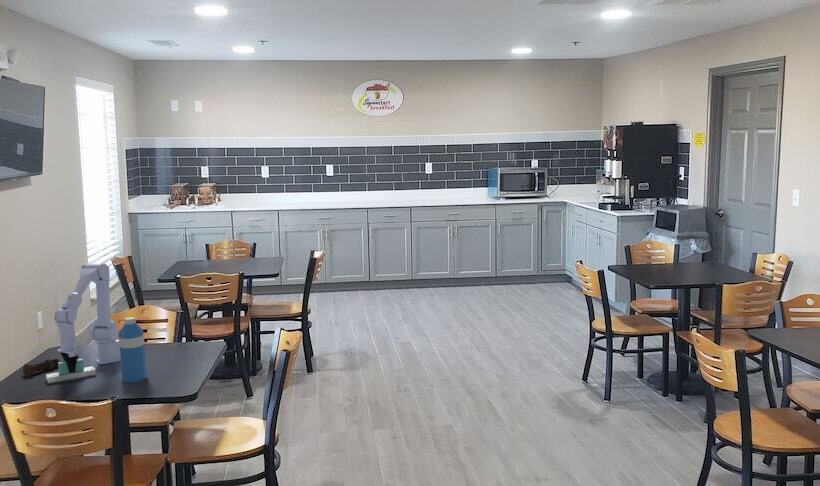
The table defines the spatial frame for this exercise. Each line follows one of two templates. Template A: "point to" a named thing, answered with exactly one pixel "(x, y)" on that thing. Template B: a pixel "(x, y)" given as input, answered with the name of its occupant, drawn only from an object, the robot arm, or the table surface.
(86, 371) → the rail
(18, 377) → the table surface
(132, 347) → the water bottle
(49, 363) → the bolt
